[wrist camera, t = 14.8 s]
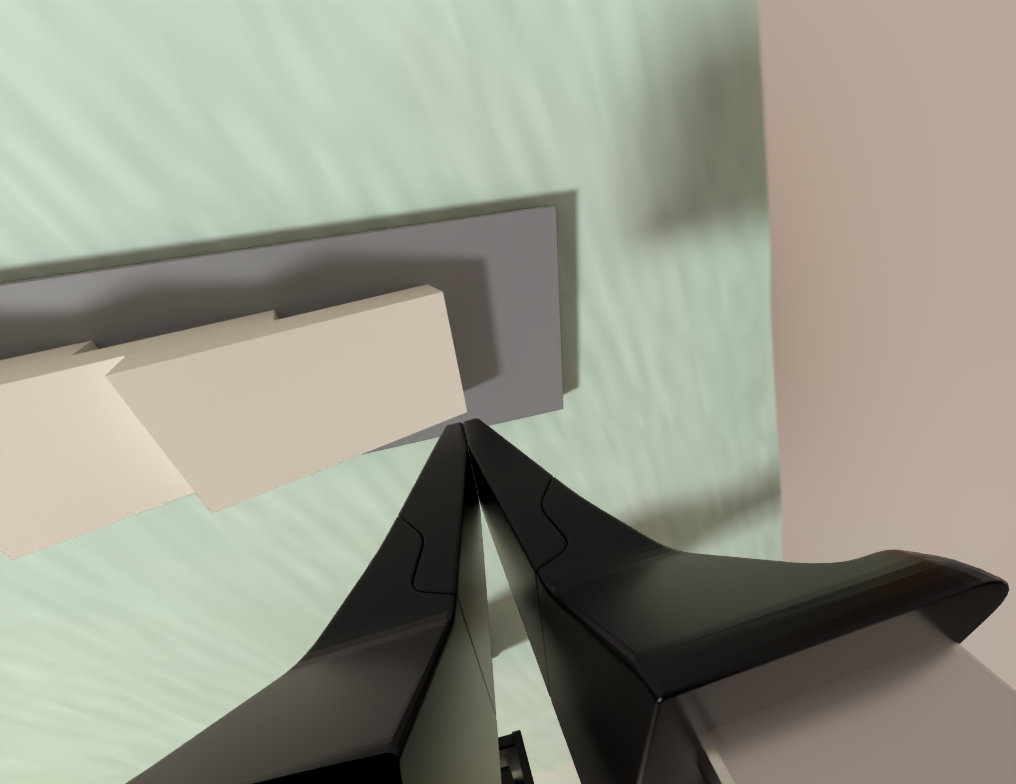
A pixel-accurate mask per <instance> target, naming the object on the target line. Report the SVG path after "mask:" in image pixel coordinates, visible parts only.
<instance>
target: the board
mask: <svg viewBox="0 0 1016 784" xmlns="http://www.w3.org/2000/svg"><path fill="white" fill-rule="evenodd" d="M426 284H428V285H430V286H432V287H434V288H436V289H438V290H440V291H442V292H443V295H444V300H445V305H446V310H447V315H448V320H449V325H450V329H451V334H452V339H453V344H454V349H455V354H456V359H457V364H458V369H459V374H460V379H461V384H462V389H463V393H464V398H465V403H466V408H467V412H466V413H464V414H461V415H459V416H456V417H454V418H451V419H449V420H446V421H444V422H441V423H439V424H436V425H434V426H431V427H429V428H426V429H424V430H421V431H419V432H416V433H414V434H411V435H409V436H406V437H404V438H401V439H399V440H396V441H394V442H391V443H388V444H386V445H383V446H381V447H378V448H376V449H373V450H371V451H368V452H366V453H370V452H375V451H379V450H384V449H388V448H392V447H397V446H401V445H406V444H410V443H414V442H419V441H423V440H428V439H432V438H437V437H440V436H441V434H442V432H443V430H444V428H445V427H446V425H448V424H453V423H457V422H461V423H462V424H463V422H464V421H466V420H471V419H475V418H478V419H480V420H481V421H483V422H484V423H485V424H486V425H488V426H489V425H494V424H498V423H503V422H507V421H512V420H516V419H520V418H525V417H529V416H534V415H538V414H542V413H547V412H551V411H556V410H560V409H563V385H562V359H561V333H560V307H559V280H558V254H557V228H556V206H540V207H533V208H526V209H519V210H512V211H505V212H498V213H491V214H484V215H476V216H469V217H462V218H455V219H448V220H441V221H434V222H427V223H420V224H413V225H406V226H399V227H392V228H385V229H378V230H371V231H364V232H357V233H350V234H343V235H336V236H329V237H322V238H315V239H308V240H300V241H293V242H286V243H279V244H272V245H265V246H258V247H251V248H244V249H237V250H230V251H223V252H216V253H209V254H202V255H195V256H188V257H181V258H174V259H167V260H160V261H153V262H146V263H139V264H132V265H125V266H117V267H110V268H103V269H96V270H89V271H82V272H75V273H68V274H61V275H54V276H47V277H40V278H33V279H26V280H19V281H12V282H5V283H0V360H4V359H9V358H13V357H18V356H23V355H27V354H32V353H36V352H41V351H45V350H50V349H55V348H59V347H64V346H68V345H73V344H77V343H82V342H87V341H91V340H92V341H93V343H94V344H95V345H96V347H97V348H98V349H102V348H107V347H111V346H115V345H120V344H124V343H129V342H133V341H138V340H142V339H146V338H151V337H155V336H160V335H164V334H169V333H173V332H178V331H182V330H186V329H191V328H195V327H200V326H204V325H209V324H213V323H218V322H222V321H226V320H231V319H235V318H240V317H244V316H249V315H253V314H257V313H262V312H266V311H271V310H275V312H276V315H277V317H278V319H283V318H287V317H291V316H295V315H300V314H304V313H308V312H312V311H316V310H321V309H325V308H329V307H333V306H338V305H342V304H346V303H350V302H354V301H359V300H363V299H367V298H371V297H376V296H380V295H384V294H388V293H393V292H397V291H401V290H405V289H409V288H414V287H418V286H422V285H426ZM463 428H464V427H463ZM366 453H363V454H366Z"/></svg>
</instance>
